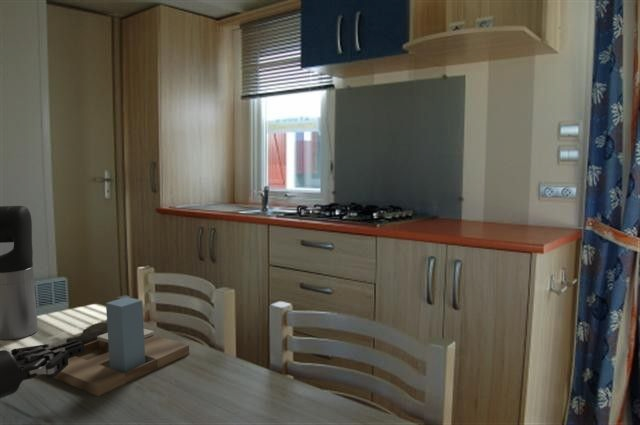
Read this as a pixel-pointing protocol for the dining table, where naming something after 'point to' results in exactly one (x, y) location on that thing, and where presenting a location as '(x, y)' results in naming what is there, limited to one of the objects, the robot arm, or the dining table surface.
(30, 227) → the robot arm
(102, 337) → the lid
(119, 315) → the block
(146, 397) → the dining table surface
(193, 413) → the dining table surface
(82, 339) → the stone
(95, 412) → the dining table surface
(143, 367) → the board
